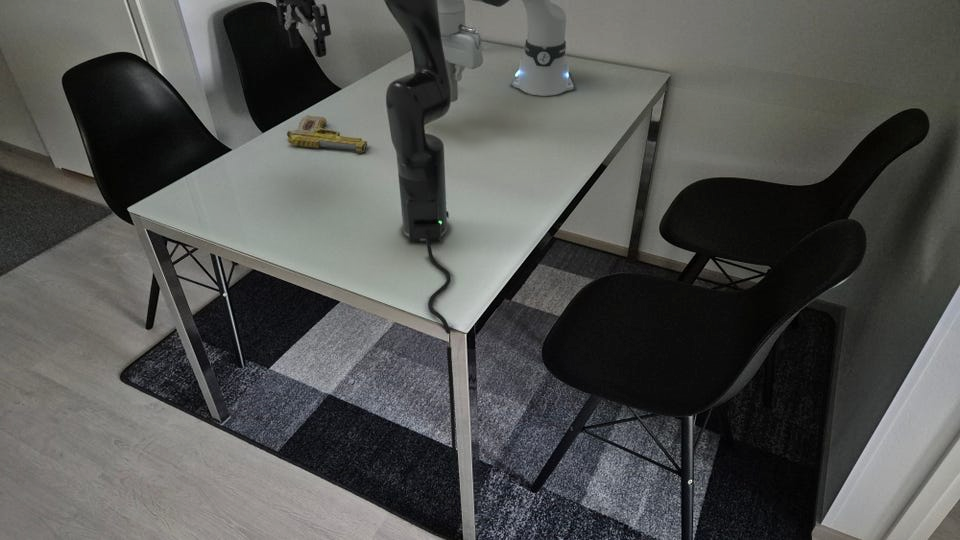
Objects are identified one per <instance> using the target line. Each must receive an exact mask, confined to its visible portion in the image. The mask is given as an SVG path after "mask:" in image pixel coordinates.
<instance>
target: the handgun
mask: <svg viewBox="0 0 960 540" xmlns="http://www.w3.org/2000/svg"><path fill="white" fill-rule="evenodd" d="M327 122H328V121H327V119H326V117H324V116H317V115H303V116H302V117H301V118H300V121H299V122H298V123H299V124H298V128H297V129H293V130H291V129H290V130H289V129H288V130H287V131H286V136H287V142H288V143H292V144H293V145H294V146H298V147H305V148H306V147H307V148H315V149H319V148H321V147H322V148H330V149H337V150H347V151H355V152H356V153H360V154H363V153H364V152H366V151H367V147H368V141H367V140H362V139H363V138H362V137H354V136H342V135H341V132H340V131H338V130H333V129H326V128H324V127H325V125H327Z"/></svg>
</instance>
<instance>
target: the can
mask: <svg viewBox="0 0 960 540" xmlns="http://www.w3.org/2000/svg"><path fill="white" fill-rule="evenodd" d="M445 62H446V67H447V72H448V78H449V83H450V90H451V103H453V102H457V101H458V100H459V94H458V92H459V91H458V81H455V80H453V73H456V71H457V68H455V64H453V63H450V62H448V61H447V60H445Z"/></svg>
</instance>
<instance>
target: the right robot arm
mask: <svg viewBox="0 0 960 540" xmlns="http://www.w3.org/2000/svg"><path fill="white" fill-rule="evenodd" d="M472 1H474V2H479V3H484V4H485V5H490V6H493V7H496V8H500V7H503V6H504V5H505V4H507V3H508V2H510V0H472ZM521 2H522V3H523V5H524V8H525V12H526V19H527V20H526V23H527V35H526V39H525V44H524V55H523V56H522V57H521V58H520V59H519V66H518V67H519V68H518V71H516V73H515V77H516V78H515V79H514V80H513V81H512V87H514V88H517V89H520V91H522V92H524V93H526V94H529V95H533V96H542V97H546V96H547V97H548V96H549V97H550V96H556V95H560V94H562V93H564V92H569V91H572V90H574V89H575V88H574V87H575V86H574V83H573V80H572V78H571V76H570V71H569V69H570V62H569V60H568V59H567V58H566V56H565V55H566V49H567V41H566V39H565V38H566V27H567V15H566V12H565V10H564V9H563V8H562V7H561V6H559V5H557V4H555V3H553V2H552V1H551V0H521ZM437 4H438V13H439V22H440V31H441V39H442V45H443V51H444V56H445V60H447V61H448V62H450V63H453V64H455V68H457V71H456V73H453V80H455V81H457V82H460V81H462V78H463V73H464V70H465V69H470V70H476V69H478V68H480V67H481V66H482V65H483V63H484V54H483V52H484V51H483V46H482V37H481V34H480V33H479V32H478V31H477V29H476V28H475V27H469V26H467V25H466V3H465V1H464V0H437Z"/></svg>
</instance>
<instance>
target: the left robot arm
mask: <svg viewBox="0 0 960 540" xmlns="http://www.w3.org/2000/svg"><path fill="white" fill-rule="evenodd" d="M383 1H384V4H385V6H386V7H387V9H388V10H389V12H390V13H391V15H392V17H393V18H394V19H395V21H396V22H397V24H398V25H399V27H400V28H401V29H402V31H403V32H404V34H405V35H406V37H407V39H408V41H409V44H410V47H411V52H412V53H411V54H412V57H413V69H414V72H413V73H410V74H408V75H404V76H402V77H400V78H397V79H394V80H393V81H391V82H390V83H389V84H388V86H387V88H386V94H385V101H386V102H385V105H386V113H387V120H388V125H389V132H390V138H391V142H392V145H393V147H394V150H395V153H396V154H395V155H396V163H397V176H398V185H399V197H400V208H401V218H402V219H401V220H402V233H403V234H404V236H405V237H406V238H407V239H408V240H409V242H410V243H426V247H427V253H428V257H429V260H430V262H431V263H432V264H433V266H435V267H436V268H437V269H438V270H439V271H441V272H442V273H444V274H445V277H446V281H445V283H444V284H442V285H441V286H440V287H439V288H438V289H437V290H436V291H434V293H432V294H431V296H430V297H429V300H428V302H427V307H428V310H429V312H430V313H431V314H432V315H434V316H435V317H436V318H437V319H438V320H440V322H441V324H442V325H443V328H444V330H445V333H446V334H447V335H449V334H451V329H450V326H449V323H448V322H447V320H446V318H445V317H444V316H443V314H440V312H438V311H437V310H436V309H435V308H434V307H433V303H434V300H435V299H436V297H438V296H439V294H441V293H442V292H443V291H445V290H446V288H448V286H449V285H450V283H451V274H450V272H449V271H448V270H447V268H445V267H443V266H442V265H441V264H440V263H439V262H437V260H436V259H435V257H434V254H433V249H432V244H431V243H432V242H435V243H436V242H440V241H441V238H443V237H444V236H446V234H447V232H448V229H449V227H448V225H449V224H448V219H449V218H450V217H449V215H450V214H449V211H448V210H447V190H446V188H447V187H446V166H445V165H446V164H445V163H446V162H445V145H444V142H443V140H442V139H441V138H440V137H438V136H436V135H434V134H430V133H426V130H425V125H428V124H430V123H433V122H434V121H437V120H439V119H441V118H443V117H444V116H446V114H448V112H449V110H450V108H451V103H452V102H451V90H450V83H449V78H448V72H447V67H446V62H445V56H444V51H443V45H442V39H441V31H440V22H439V13H438V4H437V0H383ZM275 6H276V12H277V18H278V23H279V25H280V26H284V29H285V30H286V31H287V35H288V40H289V41H288V42H289V45H290V48H292V49H294V50H295V49H298V48H300V47H302V41H301V35H300V30H299V28H298V27H299V24H302V25H303V26H304V27H305V29H306V30H308V31H309V33H310V35H311V36H312V41H313V42H312V43H313V47H314V54H315V56H316V57H317V58H322V57H325V56H327V45H326V39H325V38H327V37H329V36H331V35H332V31H331V30H332V29H331V24H330V19H329V15H328V9H327V5H326V4H325V3H322V4H317V3H316V1H315V0H275ZM284 14H285V16H284ZM323 25H324V27H323ZM315 28H316V29H315ZM446 360H447V362H446V363H447V373H448V374H447V375H448V390H449V391H448V392H449V408H450V409H449V411H450V433H451V455H452V474H453V477H454V476H457V475H458V470H457V469H458V468H457V467H458V466H457V446H456V445H457V444H456V443H457V442H456V417H455V416H456V415H455V393H454V376H453V375H454V374H453V359H452V347H451V346H447V347H446Z"/></svg>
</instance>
